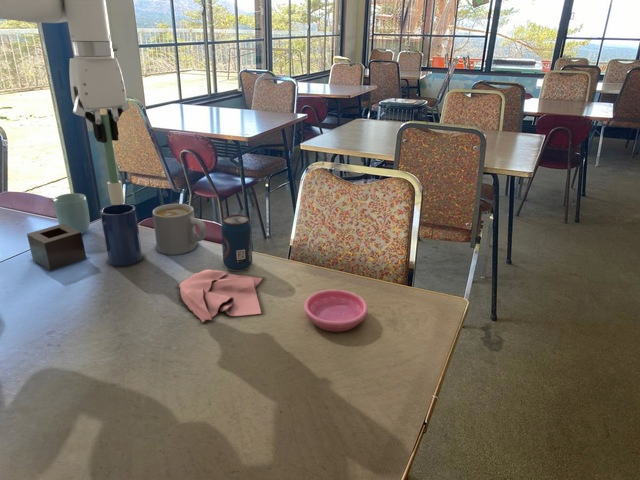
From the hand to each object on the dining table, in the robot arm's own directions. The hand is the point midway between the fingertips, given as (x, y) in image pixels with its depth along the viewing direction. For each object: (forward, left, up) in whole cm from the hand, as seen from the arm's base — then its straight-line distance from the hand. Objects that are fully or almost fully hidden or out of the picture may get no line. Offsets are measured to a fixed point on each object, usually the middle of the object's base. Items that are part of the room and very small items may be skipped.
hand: (107, 140), depth 105 cm
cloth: (+31, +3, -29) cm, 43 cm away
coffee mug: (+5, +13, -29) cm, 32 cm away
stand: (-12, -10, -29) cm, 33 cm away
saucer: (+55, +11, -29) cm, 63 cm away
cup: (-25, +1, -29) cm, 39 cm away
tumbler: (0, 0, -29) cm, 29 cm away
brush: (0, 0, -15) cm, 15 cm away
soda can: (+23, +15, -29) cm, 40 cm away
